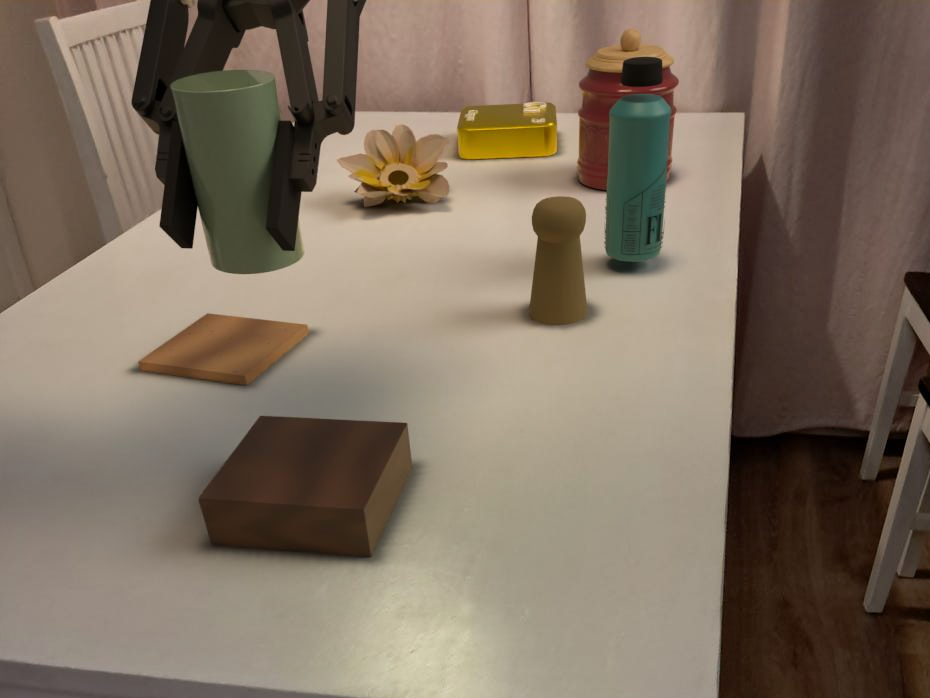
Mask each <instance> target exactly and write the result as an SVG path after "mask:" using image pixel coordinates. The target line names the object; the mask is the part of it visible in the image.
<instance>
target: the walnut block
mask: <svg viewBox="0 0 930 698" xmlns="http://www.w3.org/2000/svg"><path fill="white" fill-rule="evenodd" d="M412 470H413V460H412V452H411V442H410V433H409V425H408V422H400V421H399V422H396V421H379V420H378V421H377V420H359V419H358V420H357V419H339V418H338V419H337V418H317V417H295V416H278V415H277V416H276V415H259V416H258V417H257V419H256V420H255V422H254V423H253V424H252V426H251V427H250V428H249V430H248V431H247V432H246V434H245V435H244V436H243V438H242V439H241V440H240V442H239V443H238V444H237V446H236V447H235V448H234V450H233V451H232V452H231V454H230V455H229V456H228V458H227V459H226V461H224V463H223V464H222V466H221V467H220V468H219V470H218V471H217V472H216V474H215V475H214V476H213V478H212V479H211V481H210V482H209V483H208V485H206V487H205V489H204V490H203V491H202V493H200V495H199V497H198V498H197V500H198V504H199V507H200V510H201V511H200V512H201V514H202V517H203V521H204V524H205V527H206V531H207V534H208V538H209V541H210V544H211V546H222V547H233V548H246V549H261V550H275V551H289V552H299V553H311V554H312V553H314V554H326V555H329V554H330V555H339V556H340V555H341V556H350V557H351V556H352V557H366V558H371V557H372V556H373V554H374V552H375V550H376V547H377V545H378V544H379V541H380V539H381V537H382V535H383V533H384V531H385V528H386V526H387V524H388V522H389V519H390V517H391V515H392V513H393V512H394V511H393V510H394V508H395V507H396V504H397V502H398V500H399V498H400V496H401V494H402V491H403V489H404V487H405V485H406V483H407V480H408V478H409V476H410V474H411V472H412Z"/></svg>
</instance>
